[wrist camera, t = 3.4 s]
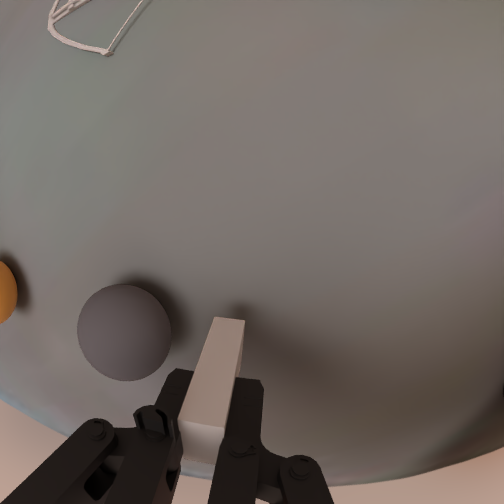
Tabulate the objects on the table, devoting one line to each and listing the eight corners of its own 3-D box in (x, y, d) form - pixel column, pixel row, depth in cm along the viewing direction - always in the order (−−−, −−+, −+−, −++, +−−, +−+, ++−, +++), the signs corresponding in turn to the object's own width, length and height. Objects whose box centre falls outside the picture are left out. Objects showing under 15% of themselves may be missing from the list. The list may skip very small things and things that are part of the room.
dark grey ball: (201, 319, 17) (172, 379, 12) (149, 357, 19) (116, 411, 14) (138, 252, 16) (85, 291, 11) (94, 300, 18) (46, 342, 13)
